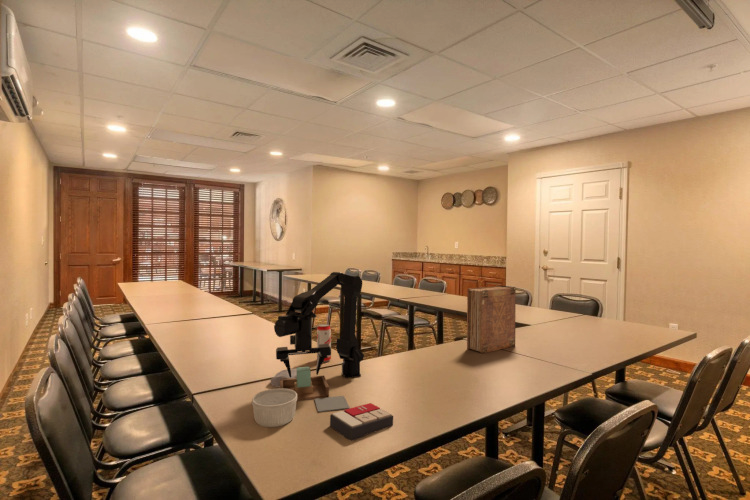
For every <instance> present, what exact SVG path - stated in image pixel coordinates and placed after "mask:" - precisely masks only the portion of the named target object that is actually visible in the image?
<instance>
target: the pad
mask: <svg viewBox="0 0 750 500" xmlns="http://www.w3.org/2000/svg"><path fill="white" fill-rule="evenodd" d="M314 402H315V407H316V410H317V413H325V412H326V413H327V412H335V411H344V410H346V409H349V408H351V407H350V406H349V403H348V402H347V400H346V398H345V395H338V396H329V397H327V398H317V399H314Z"/></svg>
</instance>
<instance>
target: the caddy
mask: <svg viewBox="0 0 750 500" xmlns="http://www.w3.org/2000/svg"><path fill="white" fill-rule="evenodd" d="M279 388H284V389H290V390H293V391H295V392H296V393H297V401H296V402H298V401H306V400H307V401H308V400H315V399H317V398H327V397H330V386H329V384H328V381H327V380H326V377H325V375H316V376H315V375H314V376H311V386H309V387H299V388H298V387H297V378H292V379H281V380H280V387H279Z"/></svg>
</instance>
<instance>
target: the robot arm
mask: <svg viewBox="0 0 750 500" xmlns="http://www.w3.org/2000/svg"><path fill="white" fill-rule="evenodd" d="M337 286H340V290H341V293H342V295H343V299H344V300H343V317H342V318H343V320H342V321H343V322H342V334H341V336H340V337H339V338H337V339H336V347H335V350H336V352H337V354H338V357H339V359H341V360H342V363H341V374H342V375H343V377H344V378H346V379H347V378H357V377H358V378H359V377H360V378H361V377H362V374H361V362H362V361H363V360H364V357H365V354H364V353H363V352H362V351H361V349H359V346H360V345H359V340H358V338H357V336H356V321H357V304H358V303H357V302H358V301H357V300H358V298H359V296H360V294H361V292H362V287H363V279H362V278H361V277H360V276H358V275H352V274H351V275H349V274H346V273H343V272H341V271H340V272H339V271H332V272H330V273H329V275H328V276H327V277H326V278H324V279H323V280H322V281H319V283H318V284H316V285H315V286H314V287H312V288H311V289H309V290H306V291H303V292H301V293H299V294H297V295H295V296H294V297H293V299H292V302H291V304H290V306H289V307H288V309H287V311H286V313H285V315H278V316H277V320H275V322H274V325H273V328H274V333H275V335H276V336H277V337H279V338H283V337H287V336H289V345H290V346H291V345H292V346H293V345H294V348H291V349H288V346H281V347H280V346H279V347H277V348H276V350H275V359H276V360H279V361H280V363H281V362H282V363H283V364H284V366H285V367H286V368H285V369H286V370H288V373H289V376H290V377H291V369H292V368H291V364H290V357H289V356H294V355H295V356H296V355H307V354H308V355H309V354H316V369H315V374H316V376H319V372H320V369H321V366H322V364H323V363H324V362H323V361H324V359H325V358H327V356H329V355H331V356H332V347H331V348H330V346H329V345H328V344H319V345H318V347H317V346H316V347H313V345H312V344H313V343H312V342H313V341H312V339H313V337H312V336H313V335H312V331H313V330H312V325H313V324H312V323H313V321H312V319H313V318H317V314H315V313H314V312H313V311H314V310H315V309H316V307H317V306H318V304H319V301H320V300H321V299H323V298H324V297H325V296H326V295H327V294H329V292H331V291H332V290H333V289H334V288H336V287H337Z"/></svg>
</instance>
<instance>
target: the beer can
mask: <svg viewBox="0 0 750 500" xmlns="http://www.w3.org/2000/svg"><path fill="white" fill-rule="evenodd" d="M319 344H328V345H329V346H330V348H331V349H332V329H331V326H330V324H329V323H319V324H318V326H317V327H316V348H317V347H318V345H319ZM331 359H332V354H331V355H329V356H327V358H325V359H324V361H323V363H326V362H330V360H331Z"/></svg>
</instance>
